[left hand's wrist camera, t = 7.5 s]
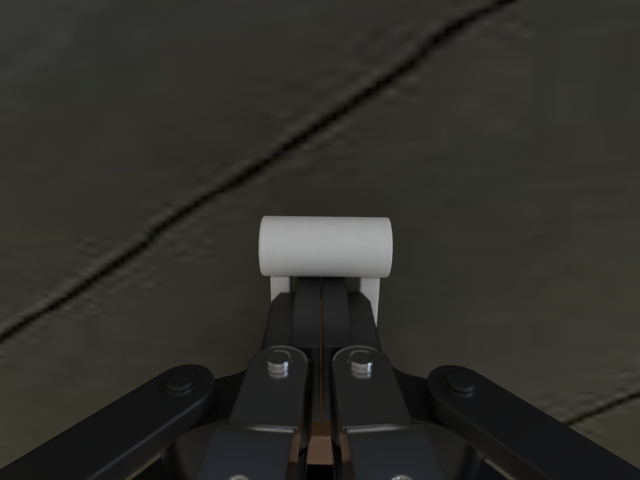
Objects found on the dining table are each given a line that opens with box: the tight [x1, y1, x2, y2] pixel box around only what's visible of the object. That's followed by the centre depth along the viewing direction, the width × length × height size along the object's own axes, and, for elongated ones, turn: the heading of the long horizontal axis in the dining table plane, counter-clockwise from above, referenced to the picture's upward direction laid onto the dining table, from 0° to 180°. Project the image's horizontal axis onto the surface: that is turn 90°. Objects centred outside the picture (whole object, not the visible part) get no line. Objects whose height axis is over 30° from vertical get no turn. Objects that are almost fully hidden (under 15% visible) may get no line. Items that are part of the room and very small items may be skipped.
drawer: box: [259, 216, 393, 480], centre depth 17 cm, size 22×4×8 cm, turn 0°
